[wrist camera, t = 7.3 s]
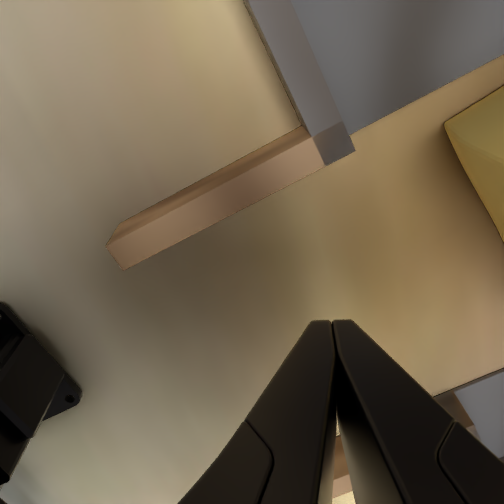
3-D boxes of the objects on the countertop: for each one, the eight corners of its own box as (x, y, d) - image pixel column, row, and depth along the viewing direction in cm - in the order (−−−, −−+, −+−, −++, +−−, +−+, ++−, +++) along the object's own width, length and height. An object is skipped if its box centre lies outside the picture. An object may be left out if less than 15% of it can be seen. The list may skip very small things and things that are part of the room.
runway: (334, 531, 29) (349, 601, 25) (30, 95, 18) (-22, 109, 14) (700, 394, 25) (778, 452, 22) (604, -257, 14) (731, -359, 11)
